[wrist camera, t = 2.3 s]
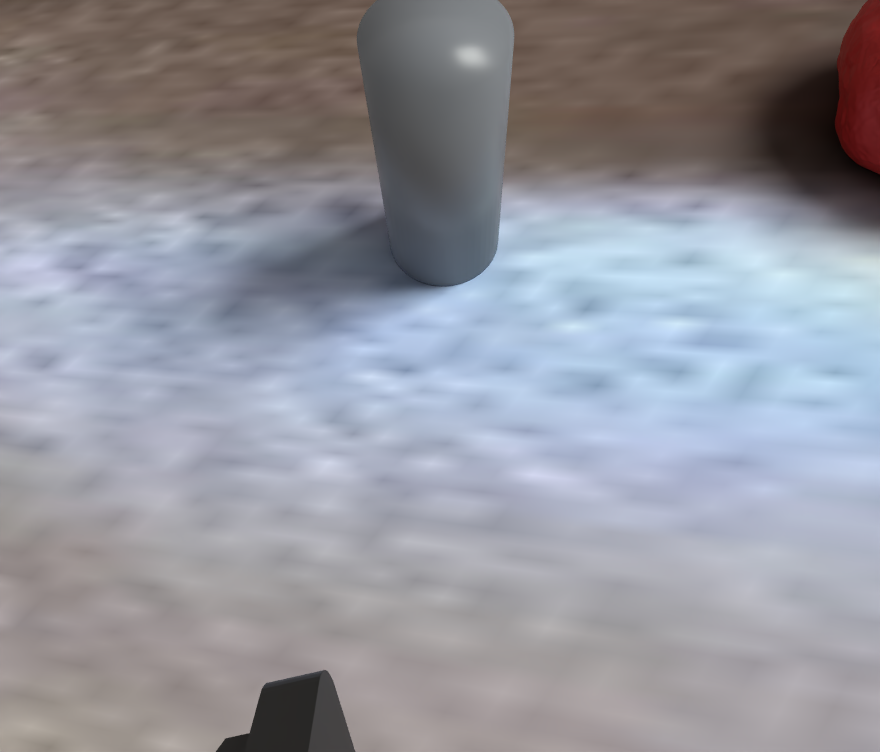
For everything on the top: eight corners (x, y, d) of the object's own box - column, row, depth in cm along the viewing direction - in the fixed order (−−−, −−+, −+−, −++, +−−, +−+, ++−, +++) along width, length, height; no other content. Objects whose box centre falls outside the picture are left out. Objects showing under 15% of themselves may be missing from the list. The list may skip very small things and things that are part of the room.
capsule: (370, 259, 29) (327, 61, 20) (421, 181, 30) (404, -38, 21) (467, 302, 28) (470, 115, 19) (515, 219, 29) (540, 7, 20)
